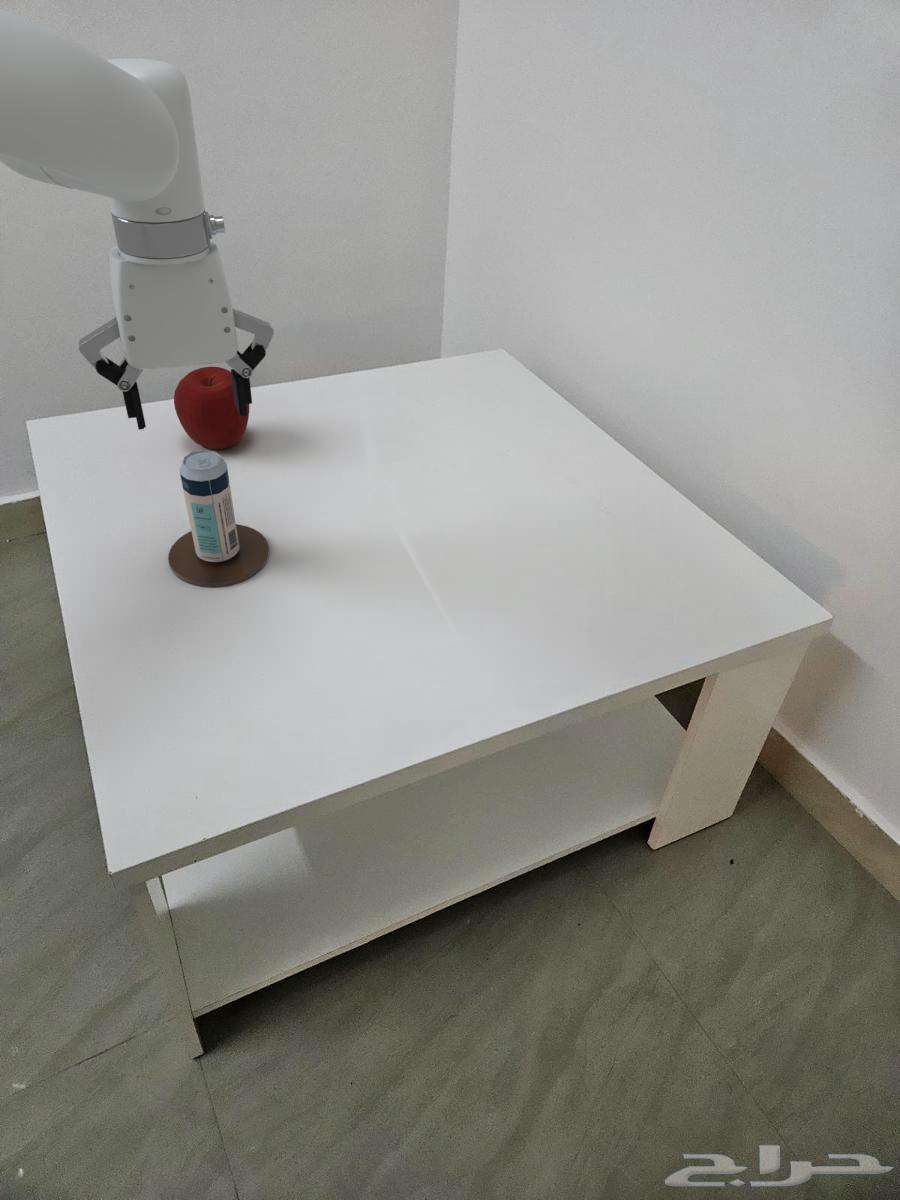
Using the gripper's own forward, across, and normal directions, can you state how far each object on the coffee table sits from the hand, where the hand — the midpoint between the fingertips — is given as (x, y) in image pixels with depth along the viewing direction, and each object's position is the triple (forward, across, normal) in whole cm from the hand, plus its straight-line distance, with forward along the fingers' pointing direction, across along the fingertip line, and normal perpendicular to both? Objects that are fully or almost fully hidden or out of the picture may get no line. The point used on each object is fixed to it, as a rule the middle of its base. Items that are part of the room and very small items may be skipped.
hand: (192, 416), depth 80 cm
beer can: (+17, 0, 0) cm, 17 cm away
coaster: (+18, -1, 0) cm, 18 cm away
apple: (+18, -5, -26) cm, 31 cm away
